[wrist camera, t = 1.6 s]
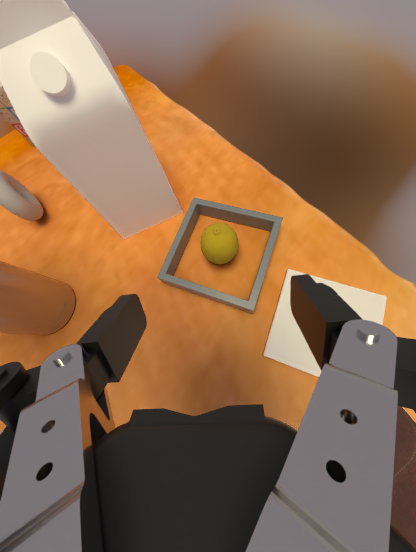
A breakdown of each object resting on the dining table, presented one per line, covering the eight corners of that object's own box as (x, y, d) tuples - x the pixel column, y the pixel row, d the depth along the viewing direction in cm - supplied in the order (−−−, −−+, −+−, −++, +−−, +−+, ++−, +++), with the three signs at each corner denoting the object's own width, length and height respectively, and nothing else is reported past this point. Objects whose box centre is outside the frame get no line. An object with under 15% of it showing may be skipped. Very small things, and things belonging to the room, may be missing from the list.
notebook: (502, 522, 21) (529, 540, 19) (360, 667, 19) (373, 702, 17) (375, 387, 26) (386, 390, 24) (254, 494, 24) (255, 506, 22)
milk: (163, 170, 42) (55, -77, 17) (183, 212, 38) (79, -29, 13) (110, 194, 42) (-74, -17, 17) (124, 239, 38) (-89, 49, 13)
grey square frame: (164, 282, 34) (157, 277, 31) (196, 208, 37) (193, 197, 35) (252, 313, 30) (253, 310, 27) (279, 227, 34) (282, 217, 31)
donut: (55, 222, 41) (1, 187, 32) (40, 232, 41) (-18, 200, 32) (38, 193, 45) (-15, 153, 35) (25, 202, 44) (-33, 165, 35)
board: (262, 355, 28) (263, 355, 27) (286, 271, 31) (288, 268, 30) (366, 395, 25) (371, 397, 24) (381, 298, 28) (386, 296, 27)
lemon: (227, 234, 35) (224, 205, 27) (244, 260, 33) (246, 236, 25) (199, 250, 35) (188, 225, 27) (215, 277, 33) (208, 257, 25)
